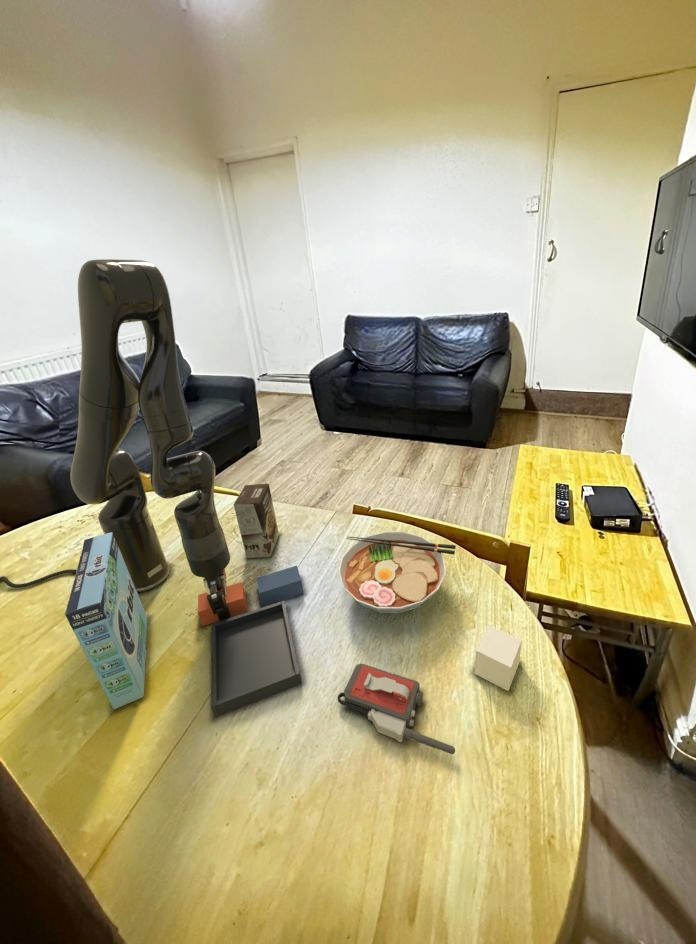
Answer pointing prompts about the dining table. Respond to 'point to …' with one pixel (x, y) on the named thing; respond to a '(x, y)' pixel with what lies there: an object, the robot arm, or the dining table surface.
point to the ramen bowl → (393, 571)
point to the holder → (252, 657)
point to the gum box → (109, 620)
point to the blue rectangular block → (279, 586)
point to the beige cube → (498, 657)
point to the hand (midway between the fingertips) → (224, 608)
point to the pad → (235, 604)
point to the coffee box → (256, 520)
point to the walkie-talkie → (387, 703)
